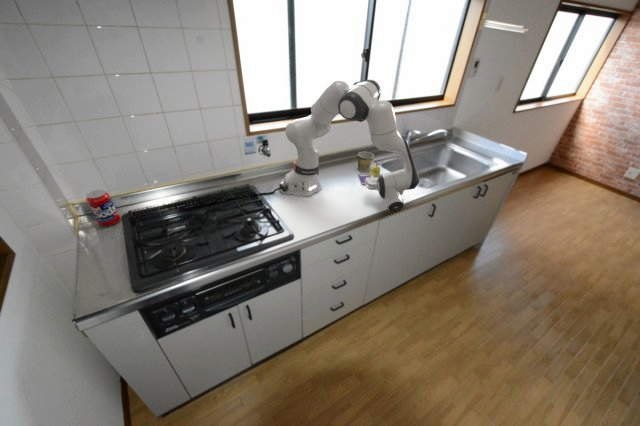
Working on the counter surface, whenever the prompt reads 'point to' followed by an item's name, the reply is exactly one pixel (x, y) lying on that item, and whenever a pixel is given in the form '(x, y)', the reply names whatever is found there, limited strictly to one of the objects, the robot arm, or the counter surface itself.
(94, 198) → the soda can
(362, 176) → the towel
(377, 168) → the green grape bunch
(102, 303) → the counter surface
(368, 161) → the ceramic cup
